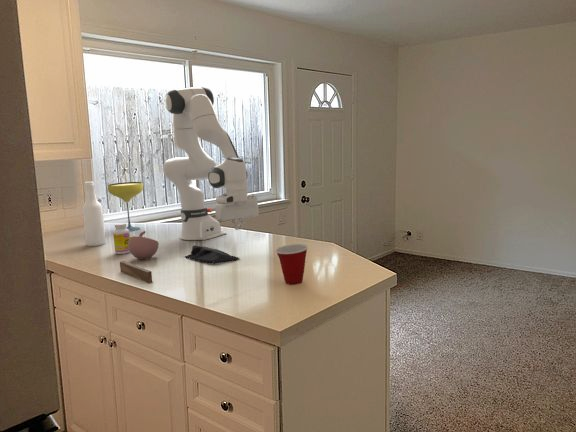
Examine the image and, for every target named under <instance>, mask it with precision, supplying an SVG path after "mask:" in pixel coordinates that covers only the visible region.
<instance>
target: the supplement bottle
mask: <svg viewBox="0 0 576 432" xmlns="http://www.w3.org/2000/svg"><path fill="white" fill-rule="evenodd" d="M114 228H115V229H114V230H113V232H112V234H113V235H112V236H113V244H114V253H115V254H117V255H126V254H129V253H130V251H129V248H128V242H129V238H130V237H131V236H130V231H129V230H128V229H126V228H127V223H126V222H118V223H117V222H116V223H115V224H114Z"/></svg>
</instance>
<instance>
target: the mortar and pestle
mask: <svg viewBox="0 0 576 432" xmlns="http://www.w3.org/2000/svg"><path fill="white" fill-rule="evenodd" d="M146 233H147V231H146V230H143V231H141V232H140V233H139V235H138V236H137V235H133V236H130V238H129V242H128V248H129V251H130V252H129V253H130V254H131V255H132V256H133V257H134V258H135V259H139V260H147V259H150V258H152V257H153V256H154V255H155V254H156V253H157V252H158V249H159V244H160V243H159V241H158V240H156V239H153V238H149V237H146V236H143V235H144V234H146Z"/></svg>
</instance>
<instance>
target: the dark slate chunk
mask: <svg viewBox="0 0 576 432" xmlns="http://www.w3.org/2000/svg"><path fill="white" fill-rule="evenodd" d="M184 258H186V259H189V260H191V261H195V262H201V263H205V264H209V265H210V264H211V265H216V264H217V265H218V264H223V263H229V262H236V261H239V260H240V257H238V256H235V255H231V254H229V253H227V252H225V251H222V250H219V249H217V248H211V247H208V246H207V247H206V246H202V245H192V248H191V252H190V254H188V255H187V254H186V255H184Z"/></svg>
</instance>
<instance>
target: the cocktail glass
mask: <svg viewBox="0 0 576 432" xmlns="http://www.w3.org/2000/svg"><path fill="white" fill-rule="evenodd" d="M143 190H144V184H143V182H142V181H127V182H115V183H110V184H108V185H107V191H108V193H109V194H110V195H111V196H114V197H116V198H119V199H121V200H122V201H123V202H124V203H126V209H127V221H128V223H127V226H126V229H128V230H129V232H134V231H135V230H136V231H139V230H140V229H141V227H139V226H132V224H131V219H130V213H129V202H130V201H131V200H132V199H133V198H134V197H136V196H137V195H139V194H140V193H141V192H142V191H143Z"/></svg>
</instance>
